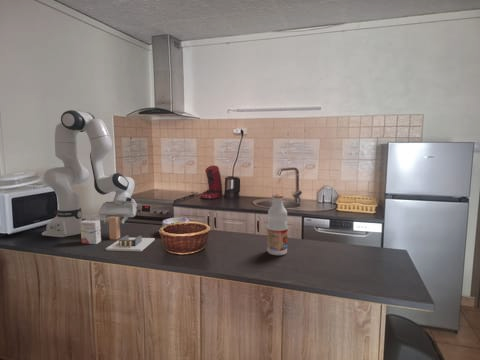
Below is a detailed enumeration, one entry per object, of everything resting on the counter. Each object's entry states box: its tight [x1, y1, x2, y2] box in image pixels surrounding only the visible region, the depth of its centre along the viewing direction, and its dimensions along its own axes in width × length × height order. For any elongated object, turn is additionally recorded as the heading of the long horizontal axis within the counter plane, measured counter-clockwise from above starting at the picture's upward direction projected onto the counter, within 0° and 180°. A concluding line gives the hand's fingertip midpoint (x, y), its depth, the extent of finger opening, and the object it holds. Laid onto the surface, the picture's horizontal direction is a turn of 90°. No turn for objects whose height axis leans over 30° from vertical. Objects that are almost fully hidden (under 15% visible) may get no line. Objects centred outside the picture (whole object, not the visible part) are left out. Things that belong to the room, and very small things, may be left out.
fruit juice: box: [266, 193, 288, 256], centre depth 148 cm, size 9×9×28 cm
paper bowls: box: [161, 217, 190, 227], centre depth 181 cm, size 15×15×8 cm
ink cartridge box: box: [80, 214, 102, 245], centre depth 164 cm, size 9×5×15 cm, turn 84°
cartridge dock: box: [105, 234, 156, 252], centre depth 161 cm, size 18×18×4 cm
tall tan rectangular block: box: [108, 216, 121, 241], centre depth 171 cm, size 4×4×12 cm
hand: (113, 222), depth 170 cm, fingers open, 8 cm apart
